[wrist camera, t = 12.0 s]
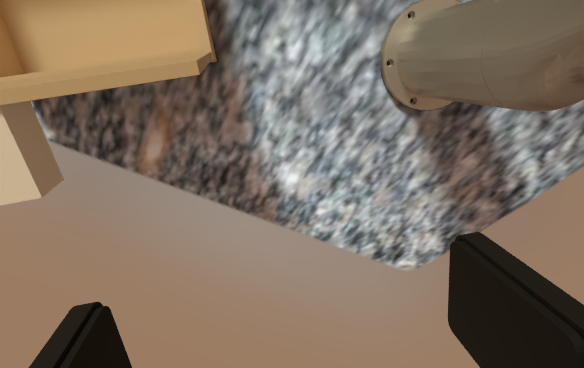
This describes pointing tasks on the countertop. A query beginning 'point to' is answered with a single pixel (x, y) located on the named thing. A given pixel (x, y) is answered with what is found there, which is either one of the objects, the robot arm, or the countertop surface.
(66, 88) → the carton lid
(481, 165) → the countertop surface
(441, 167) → the countertop surface
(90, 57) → the carton
